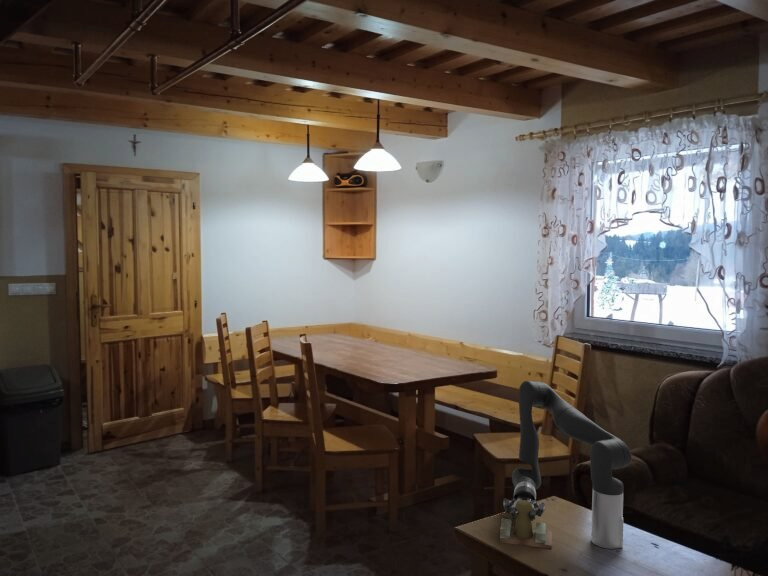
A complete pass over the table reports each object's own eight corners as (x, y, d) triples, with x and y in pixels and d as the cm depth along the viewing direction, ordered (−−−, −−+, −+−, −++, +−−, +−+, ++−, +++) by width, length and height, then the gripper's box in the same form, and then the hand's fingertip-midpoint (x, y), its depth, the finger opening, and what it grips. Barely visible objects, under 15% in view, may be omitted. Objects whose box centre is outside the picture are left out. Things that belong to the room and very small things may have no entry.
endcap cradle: (551, 534, 204) (551, 522, 204) (551, 548, 194) (551, 536, 194) (502, 528, 208) (502, 517, 208) (499, 542, 198) (500, 530, 198)
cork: (534, 539, 198) (535, 505, 197) (515, 538, 199) (515, 505, 198) (531, 530, 204) (531, 497, 203) (512, 529, 205) (513, 497, 204)
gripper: (504, 483, 216) (500, 503, 200) (546, 487, 212) (546, 508, 196) (503, 504, 217) (500, 525, 200) (545, 508, 213) (545, 531, 197)
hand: (522, 516), depth 198 cm, fingers open, 5 cm apart
